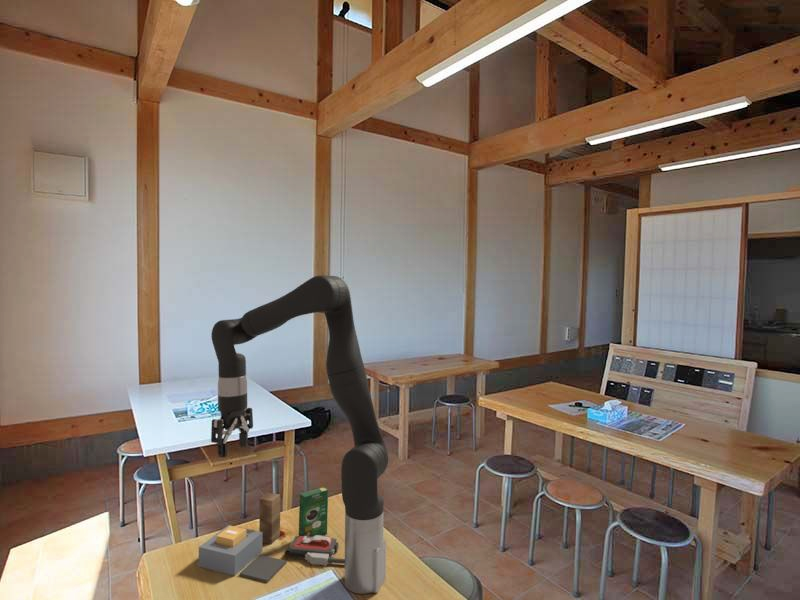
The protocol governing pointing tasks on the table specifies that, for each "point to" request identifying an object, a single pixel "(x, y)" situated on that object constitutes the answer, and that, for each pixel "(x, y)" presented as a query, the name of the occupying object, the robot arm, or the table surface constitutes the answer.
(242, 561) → the box
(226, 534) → the button
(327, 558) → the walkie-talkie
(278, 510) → the tall cardboard-brown rectangular prism
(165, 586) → the table surface
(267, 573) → the mat
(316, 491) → the coffee box
